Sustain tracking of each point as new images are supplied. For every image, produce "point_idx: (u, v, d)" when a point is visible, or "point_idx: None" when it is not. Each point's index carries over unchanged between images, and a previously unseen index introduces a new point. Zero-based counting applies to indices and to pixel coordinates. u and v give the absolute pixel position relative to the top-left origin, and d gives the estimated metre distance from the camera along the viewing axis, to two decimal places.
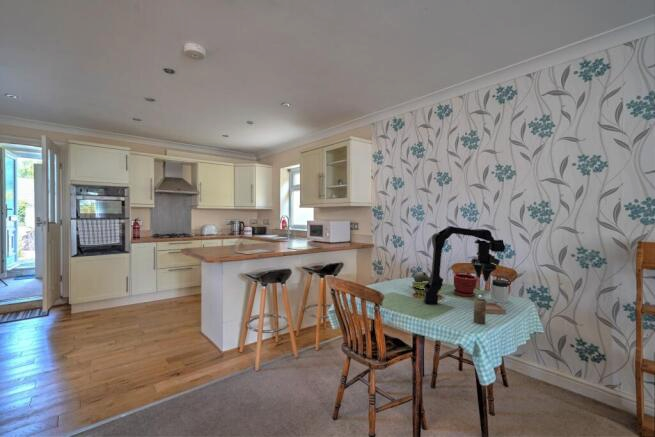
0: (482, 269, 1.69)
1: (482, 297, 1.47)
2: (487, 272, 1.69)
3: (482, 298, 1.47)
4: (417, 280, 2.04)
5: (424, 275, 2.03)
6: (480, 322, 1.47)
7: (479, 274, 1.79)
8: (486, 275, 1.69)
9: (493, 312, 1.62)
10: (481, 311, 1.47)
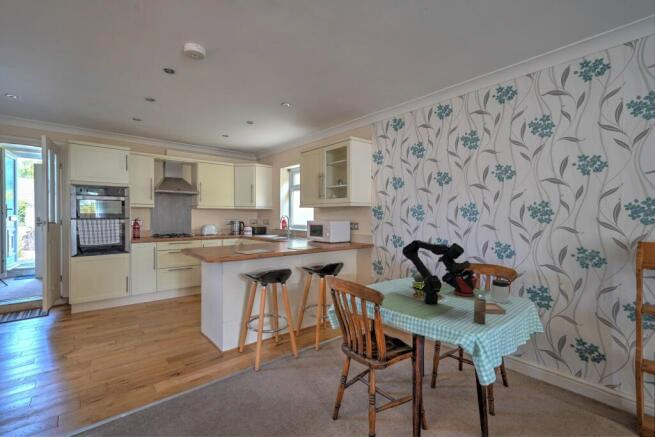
0: None
1: (482, 297, 1.47)
2: (453, 282, 1.56)
3: (482, 298, 1.47)
4: (417, 280, 2.04)
5: None
6: (480, 322, 1.47)
7: (471, 286, 1.59)
8: (455, 286, 1.56)
9: (493, 312, 1.62)
10: (481, 311, 1.47)
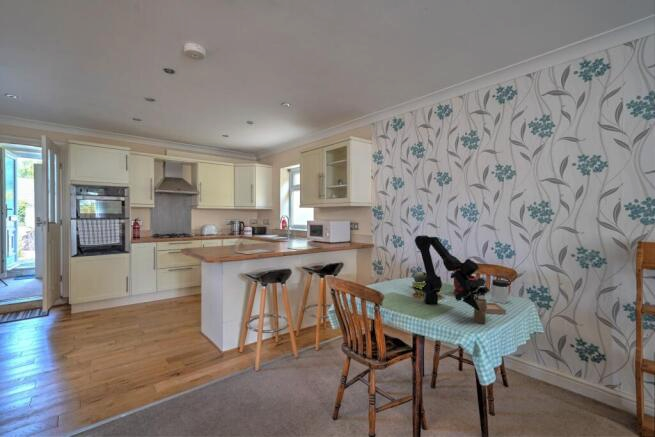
0: None
1: (482, 297, 1.47)
2: (470, 300, 1.49)
3: (482, 298, 1.47)
4: (417, 280, 2.04)
5: (424, 275, 2.03)
6: (480, 322, 1.47)
7: None
8: (472, 304, 1.49)
9: (493, 312, 1.62)
10: (481, 311, 1.47)
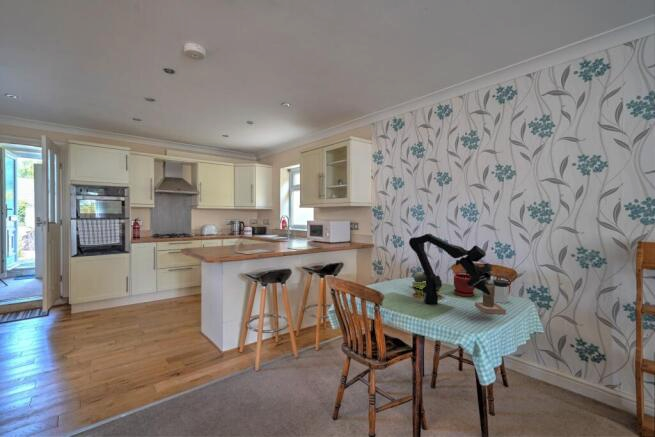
0: (474, 286, 1.55)
1: (492, 281, 1.52)
2: (481, 285, 1.53)
3: (492, 282, 1.52)
4: (417, 280, 2.04)
5: (424, 275, 2.03)
6: (490, 306, 1.52)
7: None
8: (483, 289, 1.53)
9: (493, 312, 1.62)
10: (491, 295, 1.52)
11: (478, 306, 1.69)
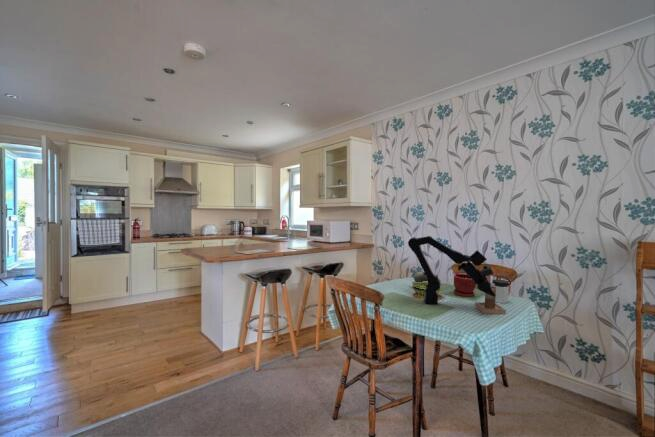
0: None
1: (494, 285, 1.65)
2: (487, 289, 1.62)
3: (494, 285, 1.65)
4: (417, 280, 2.04)
5: (424, 275, 2.03)
6: (494, 307, 1.65)
7: None
8: (489, 292, 1.62)
9: (493, 312, 1.62)
10: (494, 297, 1.64)
11: (478, 306, 1.69)
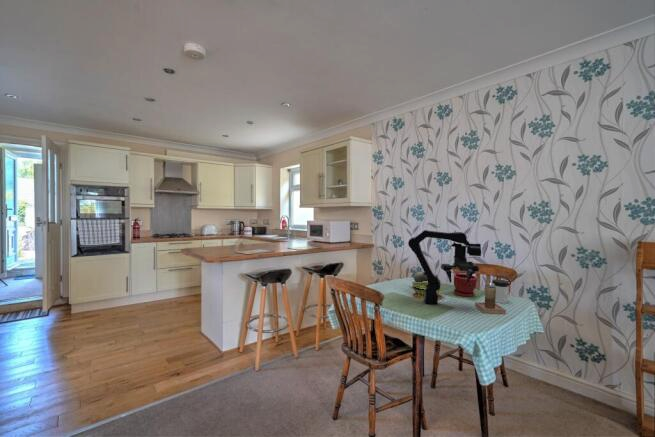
0: None
1: (494, 284, 1.65)
2: None
3: (494, 285, 1.65)
4: (417, 280, 2.04)
5: (424, 275, 2.03)
6: (494, 307, 1.65)
7: (467, 280, 1.72)
8: (448, 276, 1.73)
9: (493, 312, 1.62)
10: (494, 297, 1.65)
11: (478, 306, 1.69)
